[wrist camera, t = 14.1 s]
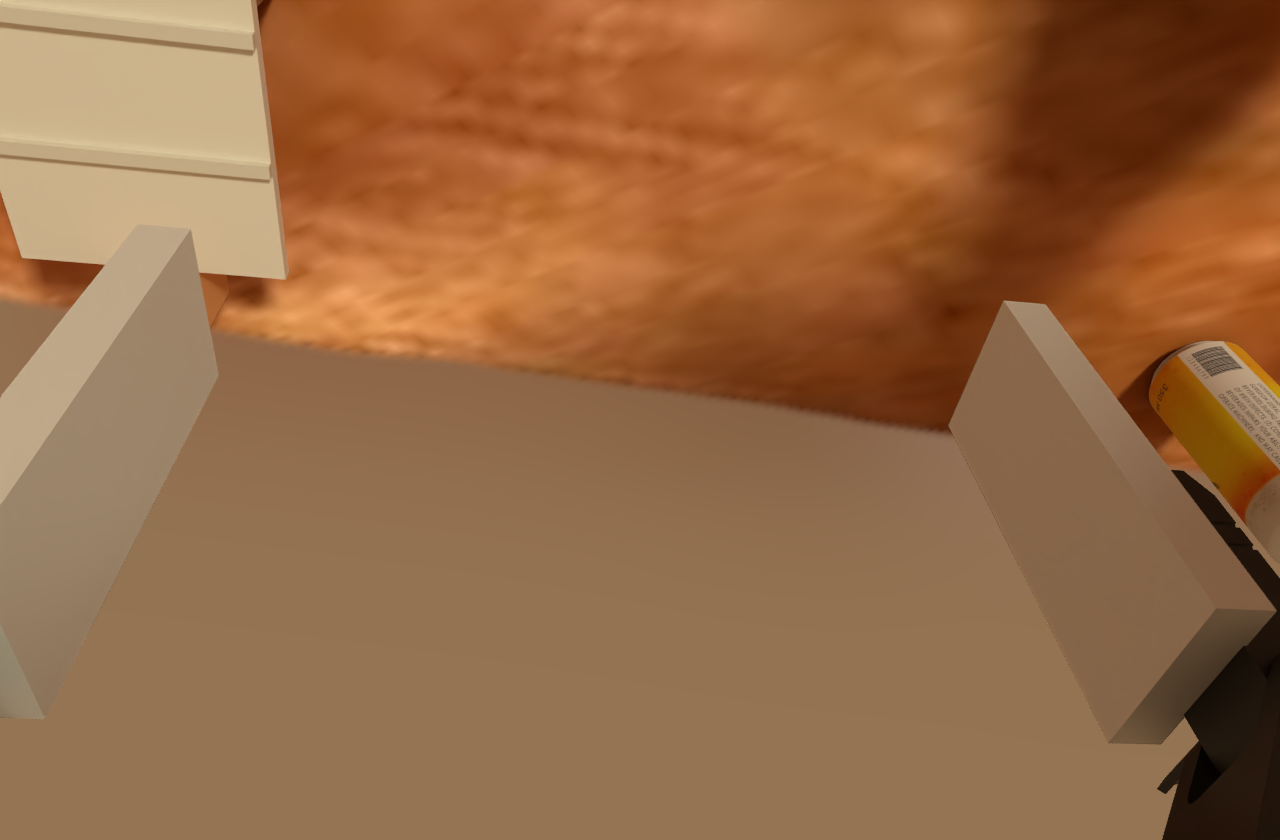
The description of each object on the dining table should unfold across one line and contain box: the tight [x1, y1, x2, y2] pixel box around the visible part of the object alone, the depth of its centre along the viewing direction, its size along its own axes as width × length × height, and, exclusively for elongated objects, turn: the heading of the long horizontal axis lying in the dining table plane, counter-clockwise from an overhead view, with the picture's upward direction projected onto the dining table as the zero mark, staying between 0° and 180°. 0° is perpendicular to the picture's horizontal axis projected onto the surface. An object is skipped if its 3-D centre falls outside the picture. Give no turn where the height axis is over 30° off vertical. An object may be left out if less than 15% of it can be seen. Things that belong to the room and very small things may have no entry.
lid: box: [0, 0, 289, 327], centre depth 39 cm, size 20×12×8 cm, turn 172°
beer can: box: [1149, 341, 1280, 564], centre depth 53 cm, size 6×6×15 cm
